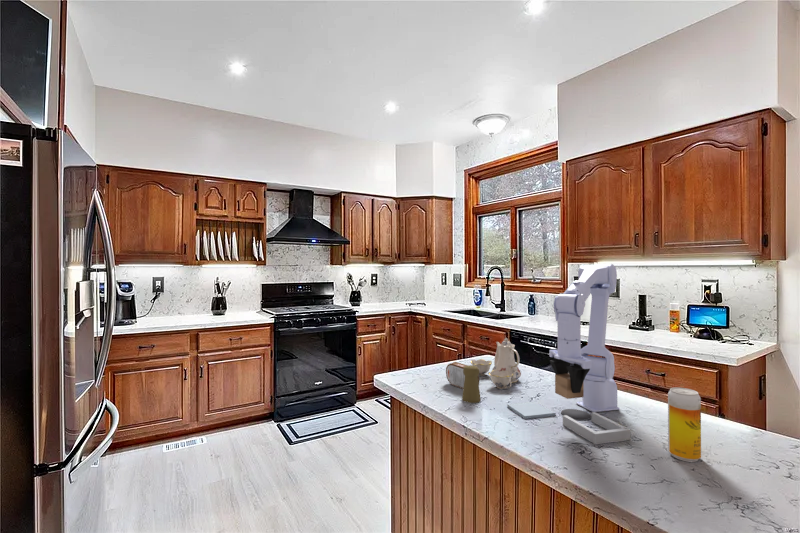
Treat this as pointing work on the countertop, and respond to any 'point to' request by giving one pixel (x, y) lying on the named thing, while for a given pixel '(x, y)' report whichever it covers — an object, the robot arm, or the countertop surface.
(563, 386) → the walnut cube
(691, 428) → the beer can
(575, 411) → the hole mat
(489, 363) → the chinaware
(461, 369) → the tin
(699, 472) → the countertop surface
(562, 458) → the countertop surface
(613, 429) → the grey flat u-shaped piece
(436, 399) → the countertop surface
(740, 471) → the countertop surface
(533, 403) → the board
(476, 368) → the olive waisted block
